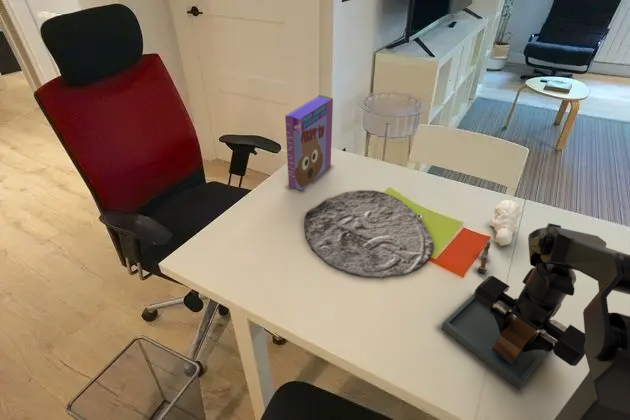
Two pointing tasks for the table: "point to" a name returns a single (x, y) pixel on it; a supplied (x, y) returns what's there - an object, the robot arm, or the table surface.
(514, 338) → the brown rectangular block
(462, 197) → the table surface
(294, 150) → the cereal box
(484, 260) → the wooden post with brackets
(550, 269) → the robot arm
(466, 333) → the tray
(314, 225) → the ancient coin
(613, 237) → the table surface
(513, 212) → the white plaster bust
